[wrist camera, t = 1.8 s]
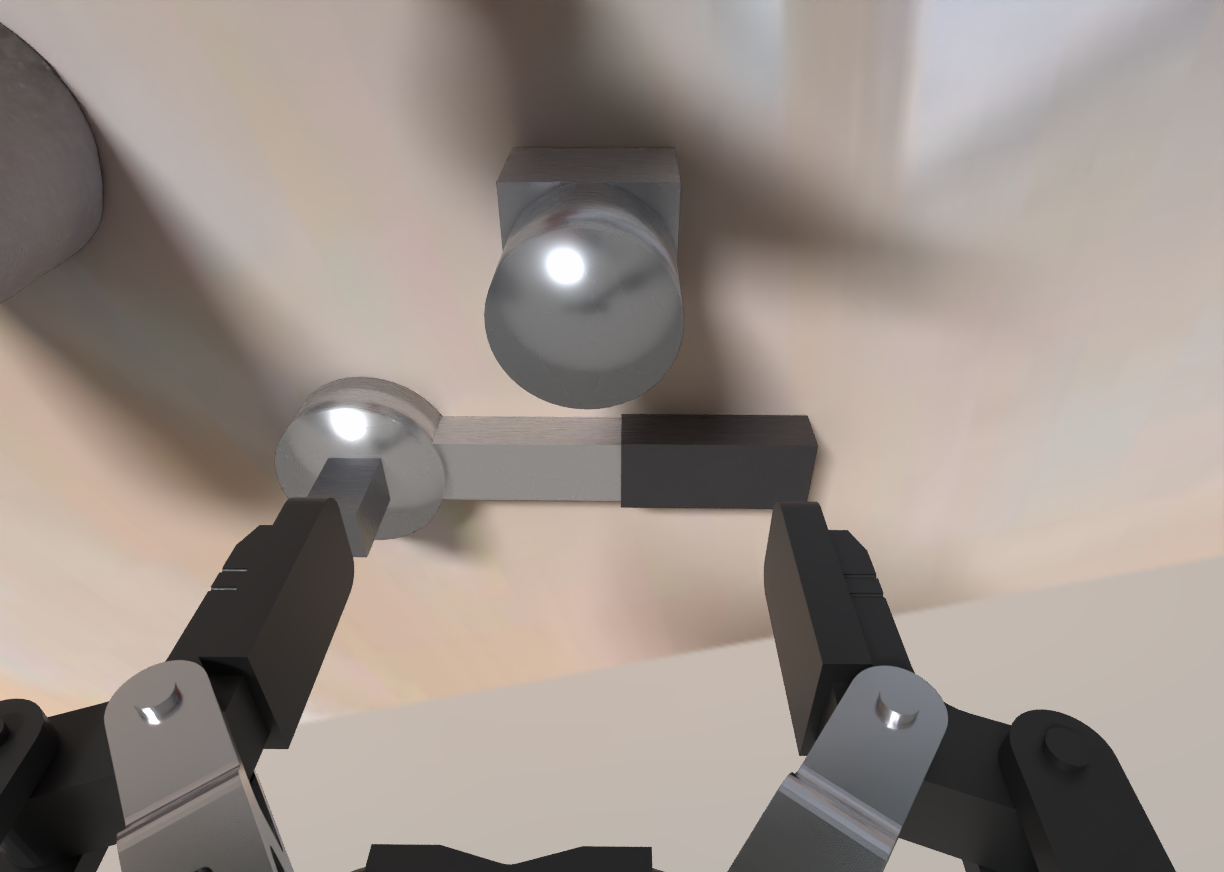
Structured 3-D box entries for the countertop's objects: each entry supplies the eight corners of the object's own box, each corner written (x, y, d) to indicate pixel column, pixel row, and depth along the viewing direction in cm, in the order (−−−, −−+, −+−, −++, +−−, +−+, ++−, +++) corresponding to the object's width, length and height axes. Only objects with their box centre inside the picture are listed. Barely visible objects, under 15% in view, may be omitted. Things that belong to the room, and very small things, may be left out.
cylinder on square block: (674, 147, 26) (689, 228, 19) (668, 296, 29) (679, 409, 22) (513, 147, 26) (473, 227, 19) (524, 296, 29) (494, 408, 23)
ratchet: (813, 379, 31) (848, 468, 26) (791, 507, 35) (817, 604, 30) (278, 376, 31) (213, 462, 27) (317, 503, 35) (267, 597, 31)
